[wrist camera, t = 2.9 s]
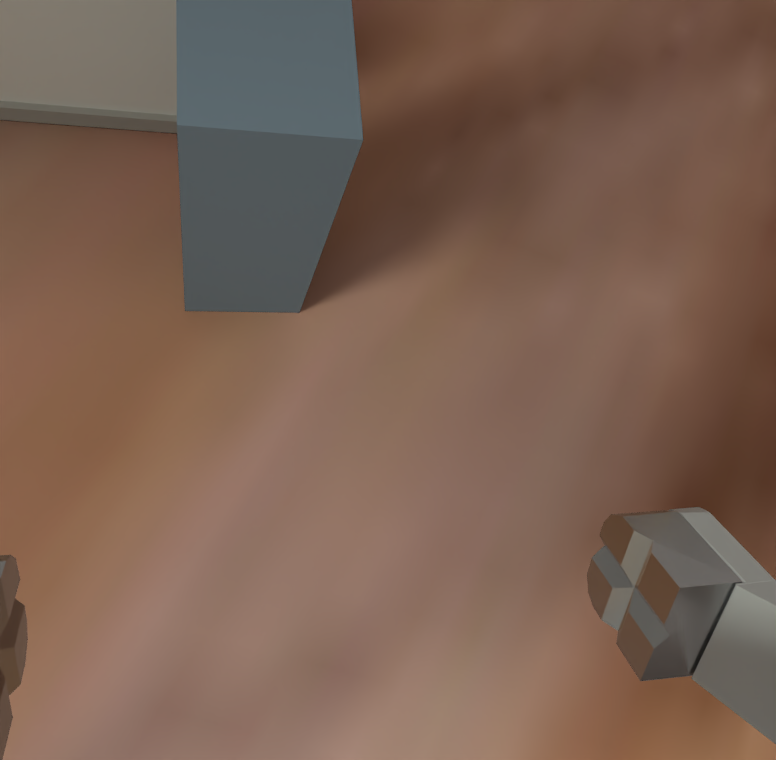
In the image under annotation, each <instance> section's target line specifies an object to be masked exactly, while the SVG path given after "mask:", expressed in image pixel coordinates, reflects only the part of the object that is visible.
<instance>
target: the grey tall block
mask: <svg viewBox="0 0 776 760" xmlns="http://www.w3.org/2000/svg"><path fill="white" fill-rule="evenodd" d="M176 44H177V139H178V162H179V185H180V208H181V231H182V253H183V276H184V299H185V311H226V312H296V313H299V312H300V310H301V307H302V304H303V302H304V299H305V296H306V293H307V291H308V288H309V285H310V283H311V280H312V277H313V275H314V272H315V269H316V266H317V264H318V261H319V258H320V256H321V253H322V250H323V247H324V245H325V242H326V239H327V237H328V234H329V231H330V228H331V226H332V223H333V220H334V218H335V215H336V212H337V210H338V207H339V204H340V201H341V199H342V196H343V193H344V191H345V188H346V185H347V182H348V180H349V177H350V174H351V172H352V169H353V166H354V164H355V161H356V158H357V155H358V153H359V150H360V147H361V145H362V142H363V131H362V119H361V107H360V95H359V83H358V71H357V59H356V47H355V35H354V23H353V11H352V0H176Z"/></svg>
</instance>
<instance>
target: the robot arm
mask: <svg viewBox="0 0 776 760" xmlns="http://www.w3.org/2000/svg"><path fill="white" fill-rule="evenodd" d="M600 537H601V539H602V541H603V543H604V545H605V546H604V547H603V548H601V549H600V550H599V551H598V552H597V553H596V554H595V555H594V556H593V557H592V559H591V562H590V566H589V569H588V573H587V582H588V593H589V596H590V599H591V602H592V605H593V607H594V609H595V610H596V612H597V614H598V615H599V617H600V619H601V620H602V621H604V622H605V623H607V624H608V625H610V626H612V627H613V628H615V629H616V630H618V635H617V643H616V644H617V645H618V647H619V649H620V650H621V652H622V653H623V655H624V656H625V658H626V660H627V661H628V663H629V664H630V666H631V667H632V669H633V670H634V672H635V674H636V675H637V677H638V678H639V680H640V681H646V680H655V679H665V678H674V677H683V676H692V678H691V679H693V680H694V681H695V682H696V683H698V684H699V685H700V686H702V687H703V688H704V689H705V690H707V691H708V692H709V693H711V694H712V695H713V696H714V697H716V698H717V699H718V700H720V701H721V702H722V703H723V704H725V705H726V706H727V707H729V708H730V709H731V710H732V711H734V712H735V713H736V714H738V715H739V716H740V717H741V718H743V719H744V720H745V721H747V722H748V723H749V724H750V725H752V726H753V727H754V728H756V729H757V730H758V731H759V732H761V733H762V734H763V735H765V736H766V737H767V738H768V739H770V740H771V741H772V742H774V743H775V744H776V580H775V579H774V578H773V577H772V576H771V575H770V574H769V573H768V572H767V571H766V570H765V569H764V568H763V567H762V566H761V565H760V564H759V563H758V562H757V561H756V560H755V559H754V558H753V557H752V556H751V555H750V554H749V553H748V552H747V551H746V550H745V548H744V547H743V546H742V545H741V544H740V543H739V542H738V541H737V540H736V539H735V538H734V537H733V536H732V535H731V534H730V533H729V532H728V531H727V530H726V529H725V528H724V527H723V526H722V525H721V524H720V523H719V522H718V521H717V520H716V518H715V517H714V516H713V515H712V514H711V513H710V512H708V511H706V510H704V509H702V508H700V507H693V508H681V509H670V510H668V511H666V510H663V511H650V512H637V513H624V514H611V515H610V516H609V517H608V518H607V519H606V521H605V522H604V524H603V527H602V529H601V532H600ZM19 581H20V576H19V571H18V566H17V562H16V558H14V557H13V556H12V555H0V760H2V759H3V755H4V751H5V747H6V743H7V739H8V735H9V730H10V726H11V722H12V718H13V716H12V711H11V705H10V700H9V695H10V694H11V693H12V692H13V691H14V690H15V689H16V688H17V687H18V686H19V685H20V684H21V680H22V676H23V671H24V667H25V660H26V650H27V640H28V637H27V618H26V611H25V606H24V605H23V604H22V603H20V602H19V601H18V600H16V599H15V596H16V592H17V589H18V585H19Z"/></svg>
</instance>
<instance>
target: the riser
mask: <svg viewBox="0 0 776 760" xmlns="http://www.w3.org/2000/svg"><path fill="white" fill-rule="evenodd" d="M0 120H10V121H23V122H36V123H49V124H62V125H74V126H87V127H100V128H113V129H126V130H139V131H152V132H165V133H177V44H176V0H0Z"/></svg>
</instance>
